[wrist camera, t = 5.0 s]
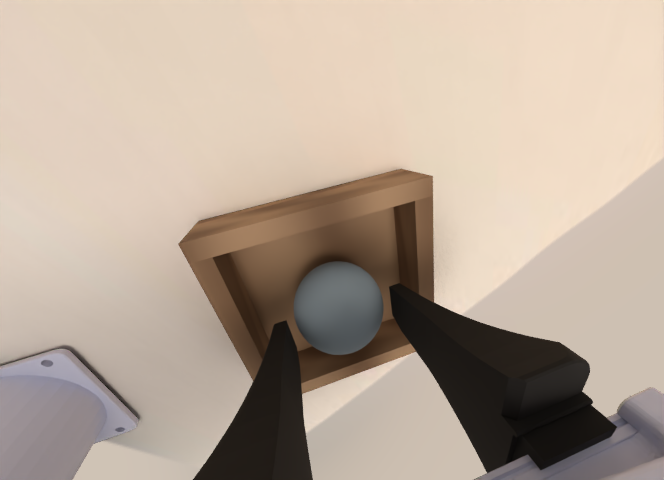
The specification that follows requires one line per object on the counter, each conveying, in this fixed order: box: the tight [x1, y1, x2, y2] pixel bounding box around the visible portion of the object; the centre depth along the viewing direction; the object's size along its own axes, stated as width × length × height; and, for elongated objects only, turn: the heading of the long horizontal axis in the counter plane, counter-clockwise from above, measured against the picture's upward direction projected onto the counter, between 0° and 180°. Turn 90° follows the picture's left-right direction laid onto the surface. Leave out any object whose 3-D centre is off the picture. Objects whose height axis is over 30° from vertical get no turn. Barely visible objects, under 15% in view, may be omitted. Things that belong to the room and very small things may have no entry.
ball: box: [294, 261, 384, 355], centre depth 13 cm, size 5×5×5 cm
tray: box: [179, 169, 434, 394], centre depth 15 cm, size 12×12×3 cm
